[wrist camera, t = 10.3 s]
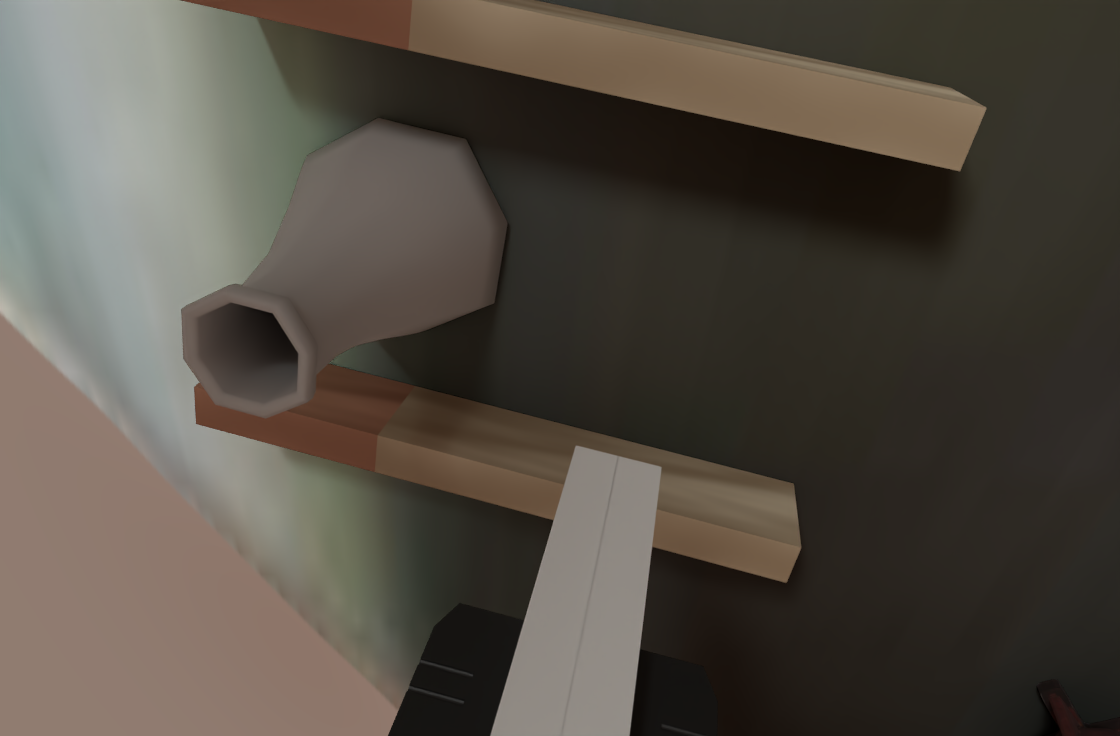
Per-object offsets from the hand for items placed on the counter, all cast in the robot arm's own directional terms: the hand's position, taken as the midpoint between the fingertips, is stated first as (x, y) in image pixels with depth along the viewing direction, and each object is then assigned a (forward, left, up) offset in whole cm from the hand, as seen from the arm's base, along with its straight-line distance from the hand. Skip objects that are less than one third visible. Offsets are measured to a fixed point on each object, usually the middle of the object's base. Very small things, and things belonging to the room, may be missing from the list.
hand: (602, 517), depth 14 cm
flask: (+1, -9, -13) cm, 16 cm away
